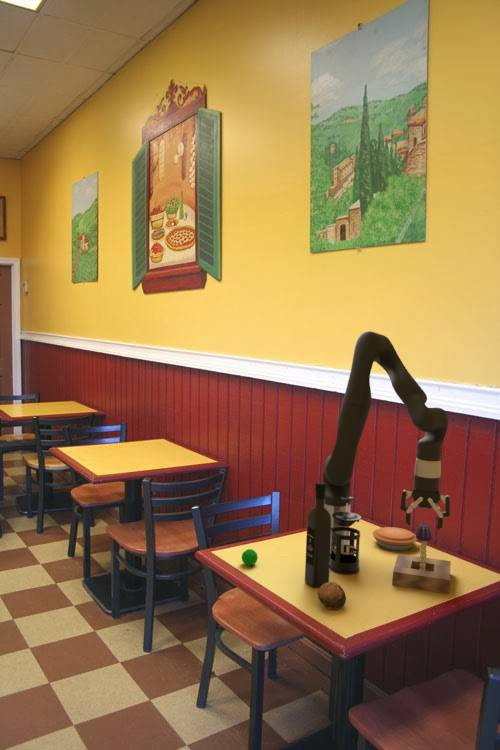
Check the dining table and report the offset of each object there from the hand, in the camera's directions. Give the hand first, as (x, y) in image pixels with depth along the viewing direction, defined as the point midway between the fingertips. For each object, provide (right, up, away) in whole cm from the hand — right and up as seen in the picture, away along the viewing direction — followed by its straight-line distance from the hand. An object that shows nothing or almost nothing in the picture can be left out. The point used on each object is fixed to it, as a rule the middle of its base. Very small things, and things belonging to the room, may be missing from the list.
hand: (423, 527), depth 185 cm
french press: (-23, -15, +8) cm, 29 cm away
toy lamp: (0, -16, +1) cm, 16 cm away
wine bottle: (-33, -16, -4) cm, 37 cm away
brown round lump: (-30, -17, -19) cm, 40 cm away
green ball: (-53, -14, +9) cm, 55 cm away
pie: (-2, -14, +31) cm, 35 cm away
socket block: (0, -16, +1) cm, 16 cm away
